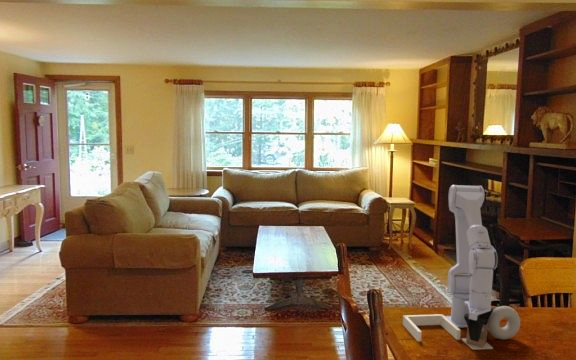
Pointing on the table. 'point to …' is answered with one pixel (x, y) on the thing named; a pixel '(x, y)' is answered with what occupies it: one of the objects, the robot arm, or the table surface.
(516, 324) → the donut
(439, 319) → the cream u-shaped arch
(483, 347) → the mat
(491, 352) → the table surface
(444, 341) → the table surface
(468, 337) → the block
